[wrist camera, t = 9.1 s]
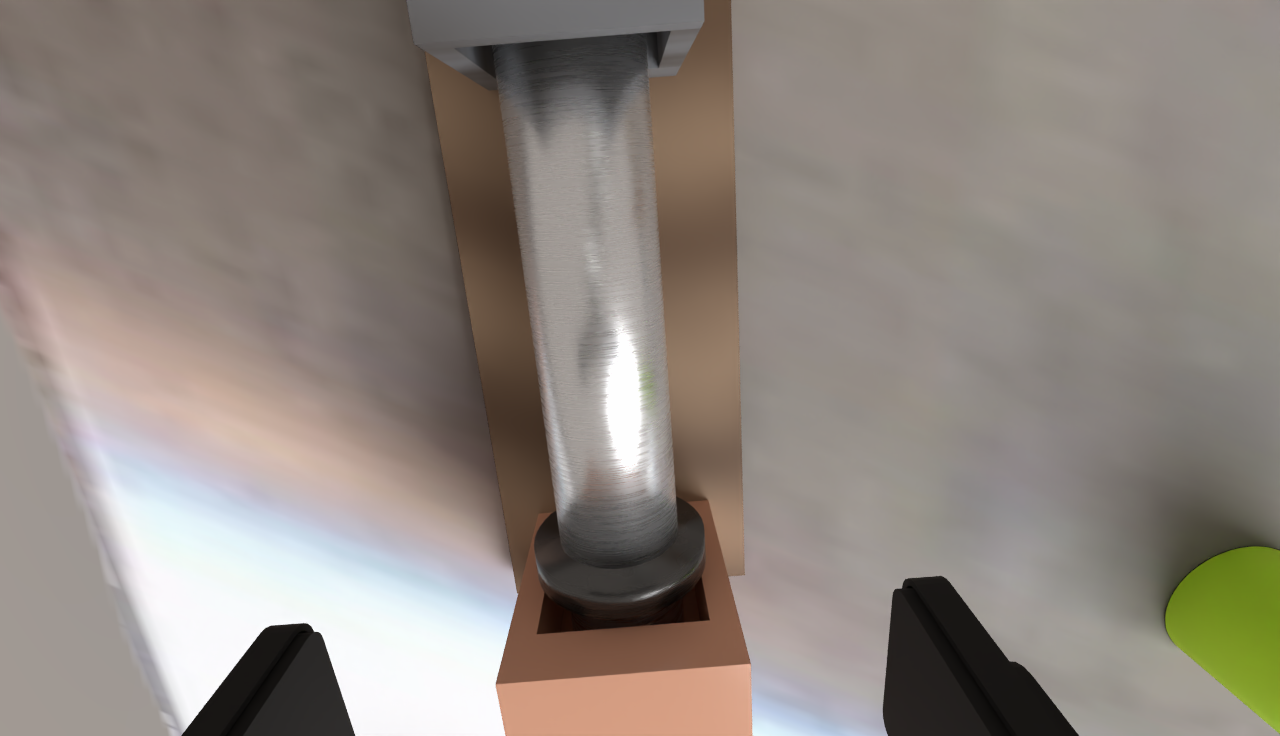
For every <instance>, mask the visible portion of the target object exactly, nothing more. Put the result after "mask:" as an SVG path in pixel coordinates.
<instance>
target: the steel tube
mask: <svg viewBox="0 0 1280 736" xmlns="http://www.w3.org/2000/svg"><path fill="white" fill-rule="evenodd" d="M492 49H493V56H494V63H495V71H496V78H497V85H498V92H499V100H500V107H501V114H502V121H503V129H504V136H505V143H506V150H507V157H508V165H509V172H510V179H511V186H512V194H513V201H514V208H515V215H516V222H517V230H518V237H519V244H520V251H521V259H522V266H523V273H524V280H525V288H526V295H527V302H528V309H529V316H530V324H531V331H532V338H533V345H534V353H535V360H536V367H537V374H538V382H539V389H540V396H541V403H542V410H543V418H544V425H545V432H546V439H547V447H548V454H549V461H550V468H551V475H552V483H553V490H554V497H555V504H556V511H554V512H553V513H552V514H550V515H549V516H548V517H547V518H546V519H545V520H544V522H543V523H542V524H541V526H540V527H539V529H538V531H537V533H536V536H535V540H534V551H535V558H536V564H537V571H538V577H539V581H540V584H541V587H542V589H543V590H544V592H545V594H546V595H547V596H548V597H549V598H550V599H551V600H552V601H553V602H555V603H556V604H557V605H559V606H561V607H562V608H564V609H566V610H568V611H570V613H571V620H572V627H573V631H585V630H597V629H609V628H622V627H634V626H647V625H659V624H671V623H684V615H683V599H682V597H683V596H685V595H686V594H687V593H688V592H689V591H690V590H691V589H692V588H693V587H694V586H695V585H696V584H697V582H698V581H699V579H700V578H701V576H702V574H703V571H704V568H705V562H706V552H705V531H704V524H703V521H702V518H701V516H700V515H699V513H698V512H697V511H696V510H695V508H694V507H692V506H691V505H690V504H689V503H687V502H686V501H684V500H683V499H681V498H679V497H677V496H676V491H675V476H674V460H673V445H672V429H671V414H670V398H669V383H668V368H667V352H666V337H665V321H664V306H663V290H662V275H661V259H660V244H659V228H658V213H657V197H656V182H655V166H654V151H653V136H652V120H651V105H650V89H649V74H648V58H647V43H646V33H635V34H623V35H610V36H598V37H585V38H573V39H560V40H548V41H535V42H523V43H510V44H498V45H492Z"/></svg>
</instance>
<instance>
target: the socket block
mask: <svg viewBox="0 0 1280 736" xmlns="http://www.w3.org/2000/svg"><path fill="white" fill-rule="evenodd" d="M687 503H689V504H690V505H691V506H692V507H694V508H695V510H696V511H697V512H698V513H699V515H700V516H701V518H702V521H703V524H704V531H705V552H706V562H705V568H704V571H703V574H702V576H701V578H700V579H699V581H698V582H697V584H696V585H695V586H694V587H693V588H692V589H691V590H690V591H689V592H688V593H687V594H686V595H685V596H683V597H682V599H683V615H684V623H671V624H659V625H647V626H634V627H622V628H609V629H597V630H585V631H573V627H572V620H571V613H570V611H568V610H566V609H564V608H562V607H561V606H559V605H557V604H556V603H555V602H553V601H552V600H551V599H550V598H549V597H548V596H547V595H546V594H545V592H544V590H543V589H542V587H541V584H540V581H539V577H538V571H537V564H536V558H535V551H534V540H535V536H536V533H537V531H538V529H539V527H540V526H541V524H542V523H543V522H544V520H545V519H546V518H547V517H548V516H549V515H550V514H552V513H540V514H538V518H537V522H536V526H535V530H534V534H533V538H532V542H531V546H530V550H529V554H528V558H527V562H526V566H525V570H524V574H523V578H522V582H521V586H520V589H519V593H518V597H517V601H516V605H515V609H514V613H513V617H512V621H511V625H510V629H509V633H508V637H507V641H506V645H505V649H504V653H503V657H502V661H501V665H500V669H499V673H498V677H497V681H496V689H497V694H498V699H499V704H500V709H501V714H502V720H503V725H504V730H505V735H506V736H752V698H751V663H750V659H749V655H748V651H747V647H746V644H745V640H744V636H743V632H742V628H741V624H740V620H739V616H738V613H737V609H736V605H735V601H734V597H733V593H732V589H731V586H730V582H729V578H728V574H727V570H726V566H725V562H724V559H723V555H722V551H721V547H720V543H719V539H718V535H717V532H716V528H715V524H714V520H713V516H712V512H711V508H710V505H709V501H708V500H702V501H689V502H687Z"/></svg>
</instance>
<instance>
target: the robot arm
mask: <svg viewBox="0 0 1280 736" xmlns="http://www.w3.org/2000/svg"><path fill="white" fill-rule="evenodd" d="M883 719H884V724H885V728H886V731H887V734H888V736H1079V735H1078V734H1077V733H1076V731H1075V730H1074V729H1073V727H1072V726H1071V725H1070V724H1069V722H1068V721H1067V720H1066V718H1065V717H1064V716H1063V715H1062V713H1061V712H1060V711H1059V709H1058V708H1057V707H1056V706H1055V704H1054V703H1053V702H1052V700H1051V699H1050V698H1049V697H1048V695H1047V694H1046V693H1045V691H1044V690H1043V689H1042V688H1041V686H1040V685H1039V684H1038V682H1037V681H1036V680H1035V679H1034V677H1033V676H1032V675H1031V674H1030V673H1029V672H1028V671H1027V670H1026V669H1025V668H1024V667H1023V666H1022V665H1020V664H1018V663H1017V662H1009V660H1008V659H1007V658H1006V656H1005V655H1004V654H1003V652H1002V651H1001V650H1000V648H999V647H998V646H997V644H996V643H995V642H994V640H993V639H992V638H991V636H990V635H989V634H988V632H987V631H986V630H985V629H984V627H983V626H982V625H981V623H980V622H979V621H978V619H977V618H976V617H975V615H974V614H973V613H972V611H971V610H970V609H969V607H968V606H967V605H966V603H965V602H964V601H963V599H962V598H961V597H960V595H959V594H958V593H957V591H956V590H955V589H954V587H953V586H952V585H951V583H950V582H949V581H948V580H947V579H946V578H944V577H942V576H936V577H922V578H909V579H905V581H904V582H903V586H902V589H895V590H894V592H893V598H892V609H891V621H890V632H889V644H888V655H887V667H886V678H885V690H884V702H883ZM182 736H355V734H354V731H353V728H352V725H351V722H350V719H349V716H348V713H347V709H346V706H345V703H344V700H343V697H342V694H341V691H340V688H339V685H338V682H337V679H336V676H335V673H334V670H333V667H332V664H331V661H330V658H329V655H328V652H327V649H326V646H325V643H324V640H323V637H322V635H321V634H320V633H319V632H314V631H313V629H312V627H311V626H310V625H309V624H305V623H302V624H288V625H275V626H269V627H267V628H265V629H264V630H263V631H262V632H261V633H260V635H259V636H258V637H257V638H256V640H255V641H254V642H253V644H252V645H251V646H250V648H249V649H248V650H247V651H246V653H245V654H244V655H243V657H242V658H241V659H240V660H239V662H238V663H237V664H236V666H235V667H234V668H233V670H232V671H231V672H230V673H229V675H228V676H227V677H226V679H225V680H224V681H223V682H222V684H221V685H220V686H219V688H218V689H217V690H216V692H215V693H214V694H213V695H212V697H211V698H210V699H209V701H208V702H207V703H206V704H205V706H204V707H203V708H202V710H201V711H200V712H199V714H198V715H197V716H196V717H195V719H194V720H193V721H192V723H191V724H190V725H189V726H188V728H187V729H186V730H185V732H184V733H183V734H182Z"/></svg>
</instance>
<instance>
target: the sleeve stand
mask: <svg viewBox="0 0 1280 736" xmlns="http://www.w3.org/2000/svg"><path fill="white" fill-rule="evenodd" d="M406 2H407V7H408V13H409V19H410V24H411V30H412V36H413V42H414V44H415V45H416V46H418V47H419V48H421V49H423V50H424V51H425V57H426V62H427V68H428V74H429V80H430V86H431V92H432V98H433V103H434V109H435V115H436V121H437V127H438V133H439V138H440V144H441V150H442V156H443V162H444V168H445V174H446V179H447V185H448V191H449V197H450V203H451V209H452V215H453V220H454V226H455V232H456V238H457V244H458V250H459V256H460V261H461V267H462V273H463V279H464V285H465V291H466V296H467V302H468V308H469V314H470V320H471V326H472V332H473V337H474V343H475V349H476V355H477V361H478V367H479V373H480V378H481V384H482V390H483V396H484V402H485V408H486V413H487V419H488V425H489V431H490V437H491V443H492V449H493V454H494V460H495V466H496V472H497V478H498V484H499V490H500V495H501V501H502V507H503V513H504V519H505V525H506V530H507V536H508V542H509V548H510V554H511V560H512V566H513V571H514V577H515V583H516V589H517V593H519V589H520V586H521V582H522V578H523V574H524V570H525V566H526V562H527V558H528V554H529V550H530V546H531V542H532V538H533V534H534V530H535V526H536V522H537V518H538V514H540V513H553V512H554V511H556V504H555V497H554V490H553V483H552V475H551V468H550V461H549V454H548V447H547V439H546V432H545V425H544V418H543V410H542V403H541V396H540V389H539V382H538V374H537V367H536V360H535V353H534V345H533V338H532V331H531V324H530V316H529V309H528V302H527V295H526V288H525V280H524V273H523V266H522V259H521V251H520V244H519V237H518V230H517V222H516V215H515V208H514V201H513V194H512V186H511V179H510V172H509V165H508V157H507V150H506V143H505V136H504V129H503V121H502V114H501V107H500V100H499V92H498V85H497V78H496V71H495V63H494V56H493V49H492V45H498V44H510V43H523V42H535V41H548V40H560V39H573V38H585V37H598V36H610V35H623V34H635V33H646V43H647V58H648V74H649V89H650V105H651V120H652V136H653V151H654V166H655V182H656V197H657V213H658V228H659V244H660V259H661V275H662V290H663V306H664V321H665V337H666V352H667V368H668V383H669V398H670V414H671V429H672V445H673V460H674V476H675V491H676V496H677V497H679V498H681V499H683V500H684V501H686V502H689V501H702V500H708V501H709V505H710V508H711V512H712V516H713V520H714V524H715V528H716V532H717V535H718V539H719V543H720V547H721V551H722V555H723V559H724V562H725V566H726V570H727V574H728V576H739V575H745V568H744V527H743V485H742V444H741V402H740V361H739V319H738V277H737V236H736V194H735V153H734V111H733V70H732V28H731V0H406Z"/></svg>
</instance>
